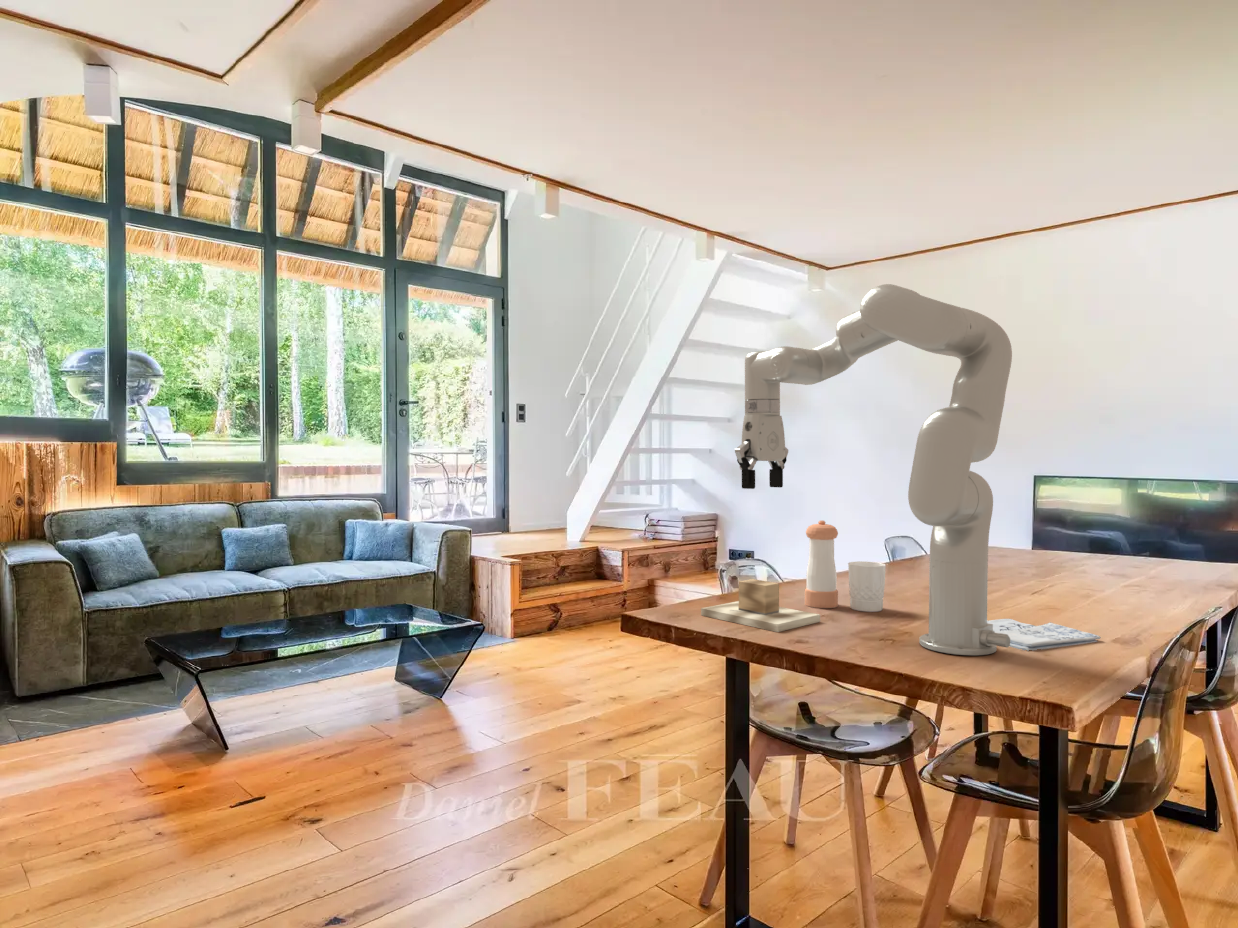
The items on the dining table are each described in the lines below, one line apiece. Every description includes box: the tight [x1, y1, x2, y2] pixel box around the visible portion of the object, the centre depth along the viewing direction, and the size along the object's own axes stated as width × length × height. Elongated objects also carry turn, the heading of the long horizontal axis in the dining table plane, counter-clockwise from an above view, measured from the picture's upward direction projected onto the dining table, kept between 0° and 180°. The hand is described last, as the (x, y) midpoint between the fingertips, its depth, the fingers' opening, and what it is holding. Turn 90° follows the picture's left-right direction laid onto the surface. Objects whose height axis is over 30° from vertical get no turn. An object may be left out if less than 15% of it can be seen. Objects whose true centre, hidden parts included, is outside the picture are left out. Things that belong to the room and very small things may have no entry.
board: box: [700, 600, 821, 633], centre depth 163 cm, size 20×14×2 cm
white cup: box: [847, 561, 887, 613], centre depth 173 cm, size 8×8×10 cm
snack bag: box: [987, 618, 1101, 652], centre depth 150 cm, size 19×20×2 cm
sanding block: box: [738, 578, 780, 615], centre depth 163 cm, size 7×4×6 cm, turn 41°
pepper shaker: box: [804, 520, 839, 609], centre depth 177 cm, size 7×7×19 cm
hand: (762, 487), depth 170 cm, fingers open, 9 cm apart
